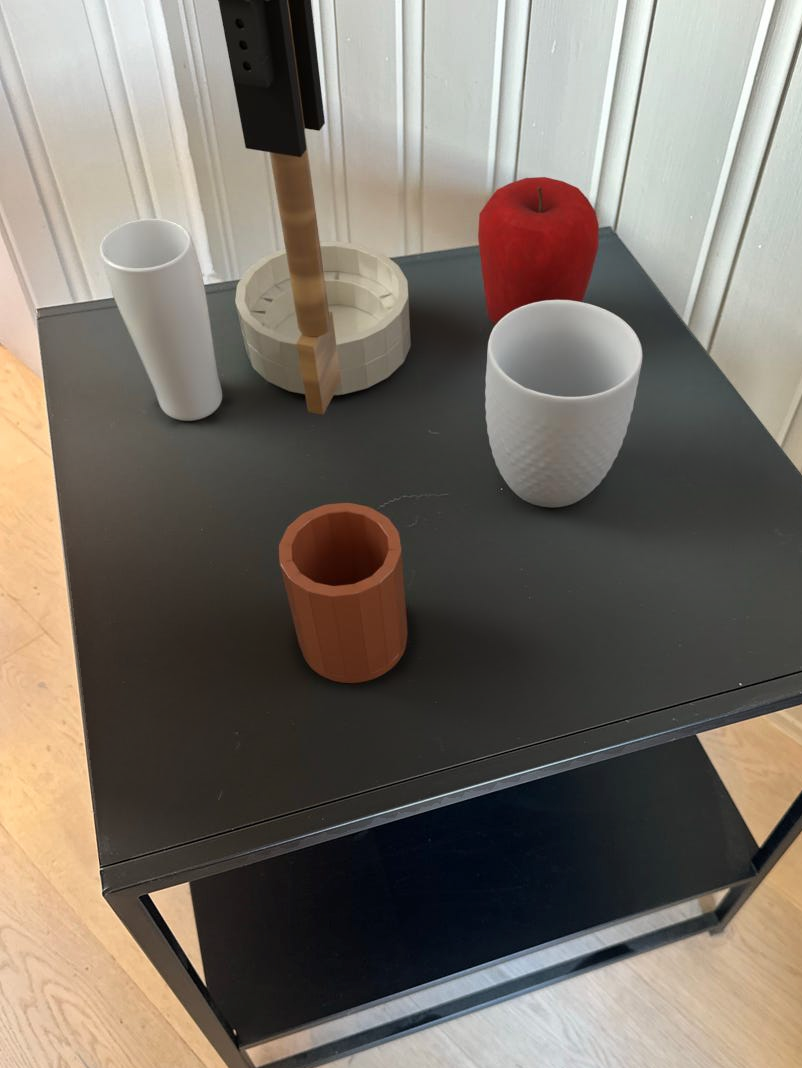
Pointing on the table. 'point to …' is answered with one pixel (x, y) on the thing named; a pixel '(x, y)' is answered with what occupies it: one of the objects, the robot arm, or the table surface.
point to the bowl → (355, 302)
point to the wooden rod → (307, 276)
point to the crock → (346, 590)
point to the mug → (559, 397)
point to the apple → (536, 244)
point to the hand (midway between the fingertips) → (285, 134)
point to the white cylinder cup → (165, 313)
